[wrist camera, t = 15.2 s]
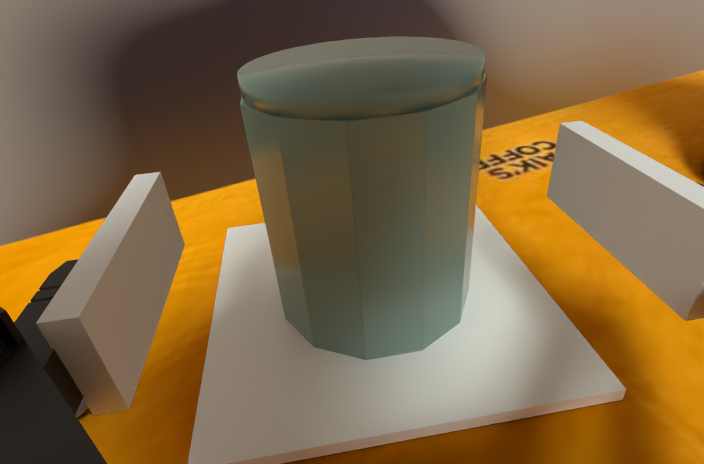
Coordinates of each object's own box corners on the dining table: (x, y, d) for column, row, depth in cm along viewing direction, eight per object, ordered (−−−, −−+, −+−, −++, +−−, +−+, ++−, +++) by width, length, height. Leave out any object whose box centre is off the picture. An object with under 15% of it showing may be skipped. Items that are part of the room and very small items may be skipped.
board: (467, 202, 30) (467, 194, 30) (622, 399, 17) (626, 389, 16) (229, 236, 29) (227, 228, 28) (191, 480, 15) (186, 470, 15)
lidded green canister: (433, 229, 27) (438, 29, 21) (497, 337, 19) (534, 71, 13) (283, 251, 26) (244, 50, 20) (287, 373, 18) (226, 108, 12)
